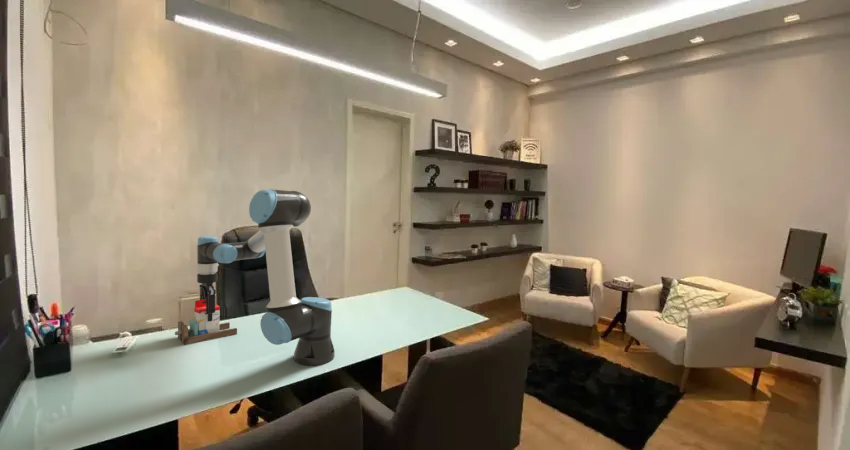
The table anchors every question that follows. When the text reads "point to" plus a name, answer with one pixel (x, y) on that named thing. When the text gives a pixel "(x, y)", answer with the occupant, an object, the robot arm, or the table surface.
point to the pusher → (191, 329)
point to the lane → (204, 337)
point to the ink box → (200, 317)
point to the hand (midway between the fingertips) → (206, 326)
